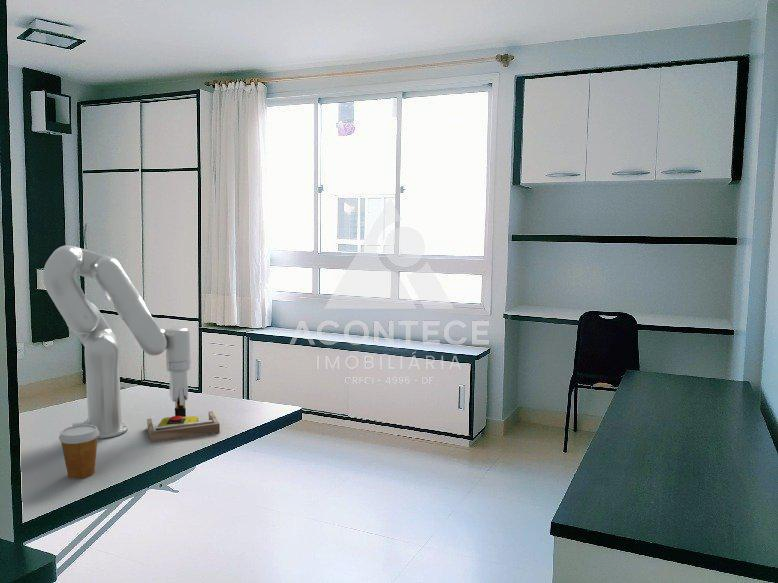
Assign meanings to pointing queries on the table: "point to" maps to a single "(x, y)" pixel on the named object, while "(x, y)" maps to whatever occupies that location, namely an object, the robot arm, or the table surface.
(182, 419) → the emergency button
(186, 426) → the catch plate
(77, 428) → the disposable coffee cup
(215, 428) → the dock
